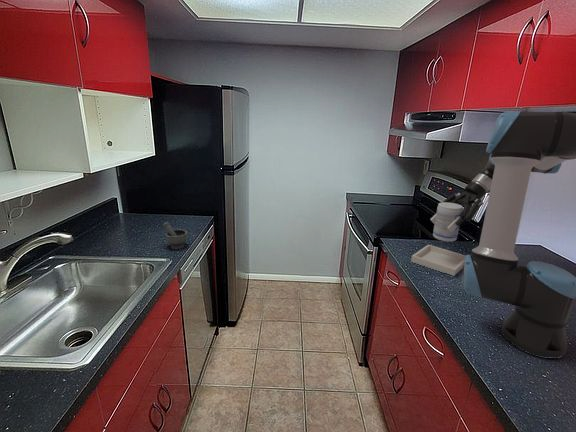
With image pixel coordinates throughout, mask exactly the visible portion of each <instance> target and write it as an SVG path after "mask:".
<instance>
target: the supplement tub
mask: <svg viewBox="0 0 576 432" xmlns="http://www.w3.org/2000/svg"><path fill="white" fill-rule="evenodd" d="M463 209H464V206H463V205H462V204H460V205H459V204H455V203H448V202H443V201H441V202H438V205H437V208H436V212H437V213H436V212H435V213H436V219H435V224H434V225H433V230H432V231H433V233H432V236H433V237H434V238H435V239H437V240H439V241H443V242H454V241H456V240H457V239H458V235H459V231H460V230H459V229H460V226H457V227H456V228H455V229H454V230H453V231H452V232H450V231H449V229H448V228H447V227H448V226H449V225H450V224H451V223H452V222H453V221H454V220H455V219H456V218H457V217H458V216H459V217H461V216H460V215H462V212H463Z"/></svg>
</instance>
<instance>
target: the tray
mask: <svg viewBox="0 0 576 432" xmlns="http://www.w3.org/2000/svg"><path fill="white" fill-rule="evenodd" d="M466 255H467V254H466ZM466 255H465V254H461V253H459V252H455V251H452V250H449V249H444V248H443V247H438V246H434V245H431V244H427V245H426V246H424V247H422V248H420V249H419V250H418V251H417V252H415V253H414V254H412V255H411V258H410V263H411V262H413V263H412V264H414V263H416V264H415V265H417V264H419V265H418V266H420V265H422V266H421V267H423V266H425V267H424V268H426V267H428V268H431V269H434V270H437V271H440V272H443V273H447V274H450V275H453V276H455V275H456V274H457V273H458V272H459V271H460V270H461V269H462V268H463V267H464V262H465V256H466ZM428 268H427V269H428ZM431 269H430V270H431ZM463 269H464V268H463ZM463 269H462V270H463ZM434 270H433V271H434ZM462 270H461V271H462ZM437 271H436V272H437ZM461 271H460V272H461ZM440 272H439V273H440ZM460 272H459V273H460ZM443 273H442V274H443ZM459 273H458V274H459ZM458 274H457V275H458ZM457 275H456V276H457ZM456 276H455V277H456Z"/></svg>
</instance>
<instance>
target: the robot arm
mask: <svg viewBox="0 0 576 432" xmlns="http://www.w3.org/2000/svg"><path fill="white" fill-rule="evenodd" d="M485 151H486V153H487V154H490V155H489V156H488V161H487V162H486V166H484V168H483V169H482V170H481V171H480V172H479V173H478V174H477V175H476V176H475V177H474V178H473V179H472V180H471V182H469V183H468V184H467V185H466V186H465V187H464V190H463V191H462V192H461V193H460V192H458V190H456V191H454V192H453V193H452V194H451V195H450V196H449V197H447V198H446V199H444V200H443V201H442V202H448V203H455V204H459V205H464V206H463V209H462V210H463V211H462V215H460V216H461V217H459V216H458V217H457V218H456V219H455V220H454V221H453V222H452V223H451V224H450V225H449V226H448V227H447V228H448V229H449V231H450V232H452V231H453V230H454V229H455V228H456V227H457V226H459V227H460V226H461V225H462V224H463V223H465V222H466V221H467V222H471V221H472V220H473V219H474V217H475V215H476V214H477V212H478V210H479V209H480V207H481V206H483V205H484V202H483V200H482V198H484V196H485V195H486V193H488V192H489V194H488V200H487V205H486V209H485V215H484V219H483V224H482V228H481V234H480V239H479V245H477V246H475V247H474V248H472V249H471V254H466V256H465V262H464V268H463V289H464V291H465V292H466V293H467V294H469V295H471V296H475V297H478V298H480V299H484V300H485V299H486V300H490V301H494V302H499V303H501V304H502V303H503V304H507V305H511V306H514V309H513V311H512V312H511V313H510V314H509V315H508V316H507V317H506V319H505V320H504V321H503V322H502V326H501V329H502V332H501V334H502V333H503V334H504V336H505V337H506V338H507V339H508V340H509V341H510V342H511V343H513V344H514V345H515V346H517V347H519V348H521V349H523V350H524V351H527V352H529V353H531V354H534V355H538V356H543V357H560V356H562V355H564V354H566V352H567V349H568V341H567V332H566V325H567V323H568V321H569V317H570V315H571V312H572V309H573V307H574V303H575V301H576V276H575V275H573V274H572V273H571V272H569V271H567V270H565V269H563V268H561V267H559V266H557V265H554V264H552V263H549V262H548V263H547V262H545V261H540V260H532V261H531V260H530V261H529V262H528V263H527V264H526V266H525V265H520V264H519V257H518V256H517V255H516V254H515V252H514V251H515V247H516V242H517V238H518V237H517V236H518V234H519V230H520V229H519V228H520V225H521V224H520V223H521V218H522V215H523V210H524V205H525V201H526V195H527V191H528V187H529V182H530V177H531V173H540V174H545V175H546V174H557V173H558V172H559V171H560V169H561V166H562V164H563V163H564V162H565V161H567V160H575V159H576V113H575V112H574V113H573V112H568V111H567V112H566V111H561V112H559V111H557V112H556V111H554V112H553V111H531V110H529V111H528V110H527V111H525V110H523V111H522V110H518V111H504V112H502V113H500V115H499V116H498V117H497V119H496V122H495V123H494V126H493V129H492V132H491V135H490V137H489V141H488V144H487V146H486V149H485ZM436 213H437V211H436V212H435V213H434V215H433V216H432V217H430V221H431V223H433V224H434V225H435V219H436ZM504 336H503V337H504ZM511 343H510V344H511ZM515 346H514V347H515ZM524 351H523V352H524ZM531 354H530V355H531ZM564 356H565V355H564Z"/></svg>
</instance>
